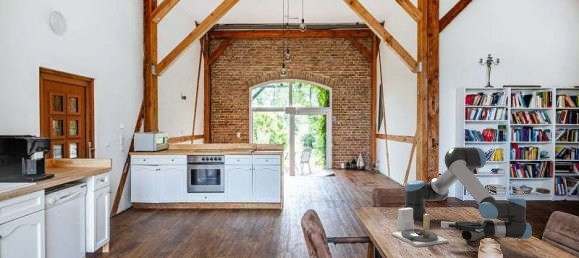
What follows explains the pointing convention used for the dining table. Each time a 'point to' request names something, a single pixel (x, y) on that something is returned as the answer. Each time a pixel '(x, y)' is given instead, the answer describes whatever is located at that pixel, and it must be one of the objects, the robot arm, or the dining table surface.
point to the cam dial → (421, 231)
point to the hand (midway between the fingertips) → (441, 224)
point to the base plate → (419, 243)
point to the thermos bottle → (473, 233)
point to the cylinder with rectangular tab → (405, 219)
